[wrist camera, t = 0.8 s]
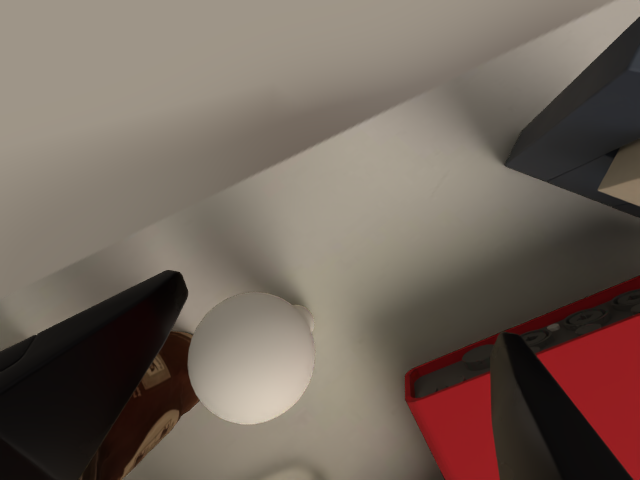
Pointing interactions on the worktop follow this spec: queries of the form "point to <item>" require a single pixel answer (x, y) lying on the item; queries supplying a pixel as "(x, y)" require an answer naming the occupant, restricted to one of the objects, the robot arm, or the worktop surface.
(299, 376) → the lightbulb
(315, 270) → the worktop surface
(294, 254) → the worktop surface
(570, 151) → the switch plate
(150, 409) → the coffee cup
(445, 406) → the red device housing
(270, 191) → the worktop surface
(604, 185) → the switch rocker
